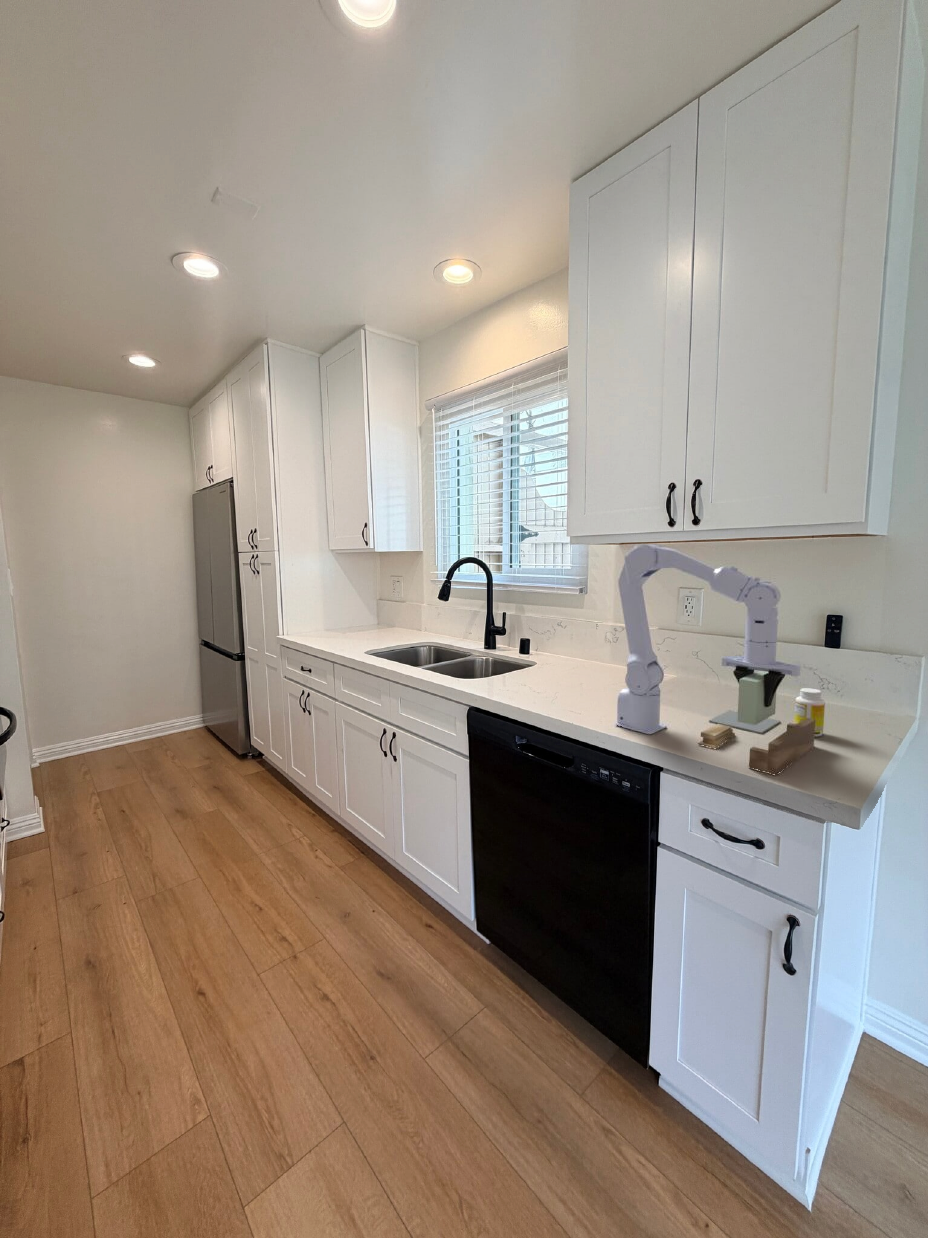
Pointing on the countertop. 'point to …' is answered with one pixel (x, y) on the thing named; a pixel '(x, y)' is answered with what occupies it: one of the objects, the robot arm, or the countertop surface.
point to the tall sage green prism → (753, 699)
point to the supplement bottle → (810, 708)
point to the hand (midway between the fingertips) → (757, 704)
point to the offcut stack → (716, 735)
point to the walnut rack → (784, 748)
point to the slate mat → (731, 720)
